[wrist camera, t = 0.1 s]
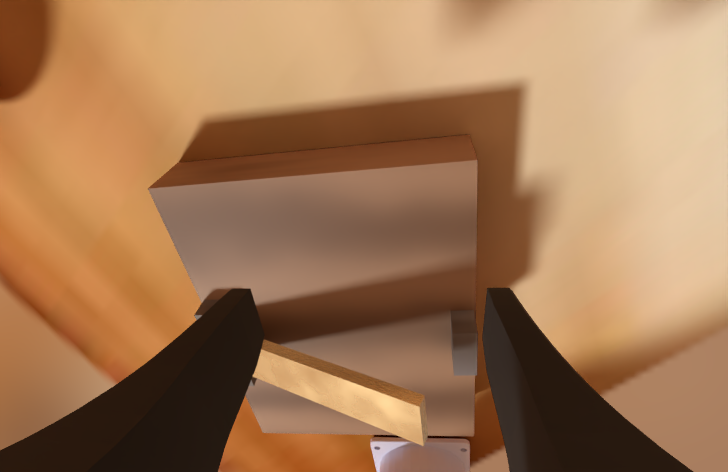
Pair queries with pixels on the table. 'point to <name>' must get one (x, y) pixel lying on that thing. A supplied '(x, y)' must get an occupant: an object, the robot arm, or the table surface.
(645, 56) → the table surface
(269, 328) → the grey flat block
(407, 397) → the latch bar
